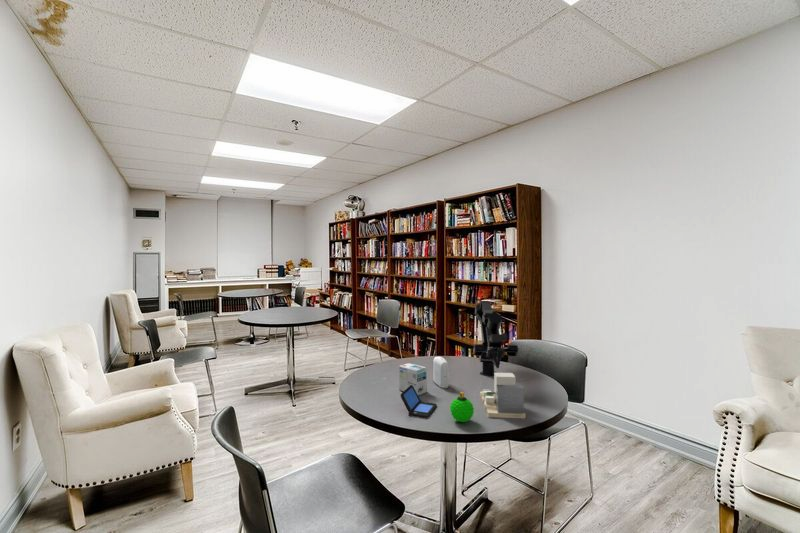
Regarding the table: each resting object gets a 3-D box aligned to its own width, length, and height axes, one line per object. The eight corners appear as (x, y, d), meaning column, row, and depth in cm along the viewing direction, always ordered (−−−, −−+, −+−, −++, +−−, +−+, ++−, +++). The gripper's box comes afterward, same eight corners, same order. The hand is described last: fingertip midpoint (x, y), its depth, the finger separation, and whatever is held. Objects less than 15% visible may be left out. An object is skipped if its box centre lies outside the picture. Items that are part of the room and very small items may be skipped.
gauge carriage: (485, 397, 141) (485, 372, 141) (512, 398, 140) (512, 372, 140) (488, 405, 134) (488, 378, 134) (517, 406, 133) (516, 379, 133)
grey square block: (496, 409, 131) (496, 384, 131) (521, 410, 130) (521, 385, 130) (498, 412, 128) (497, 387, 128) (523, 413, 127) (523, 388, 127)
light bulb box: (427, 392, 153) (427, 367, 153) (417, 396, 148) (417, 370, 148) (408, 386, 160) (408, 362, 160) (398, 390, 155) (398, 365, 155)
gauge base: (480, 394, 149) (479, 385, 149) (511, 395, 148) (511, 386, 148) (488, 417, 128) (488, 406, 127) (525, 418, 126) (525, 407, 126)
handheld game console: (427, 419, 126) (427, 398, 126) (399, 415, 130) (399, 394, 130) (437, 406, 138) (437, 387, 138) (411, 402, 142) (411, 383, 142)
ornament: (445, 422, 124) (445, 393, 124) (457, 414, 130) (457, 386, 130) (466, 428, 119) (466, 398, 119) (478, 420, 125) (478, 392, 125)
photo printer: (450, 387, 158) (449, 359, 158) (441, 388, 156) (440, 360, 156) (440, 380, 167) (440, 354, 167) (432, 381, 166) (432, 355, 166)
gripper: (474, 326, 157) (477, 358, 147) (517, 326, 156) (524, 358, 145) (472, 339, 165) (474, 370, 155) (513, 340, 164) (519, 371, 153)
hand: (497, 367), depth 152 cm, fingers closed
